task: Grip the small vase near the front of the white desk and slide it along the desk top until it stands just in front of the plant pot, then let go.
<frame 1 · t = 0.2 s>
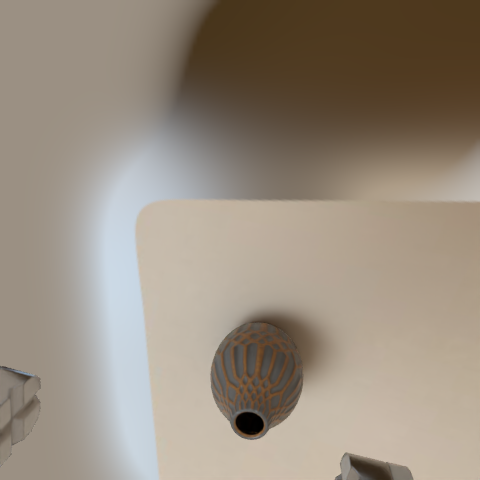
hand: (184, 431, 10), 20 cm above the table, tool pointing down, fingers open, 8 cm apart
vase: (260, 345, 32), on the table
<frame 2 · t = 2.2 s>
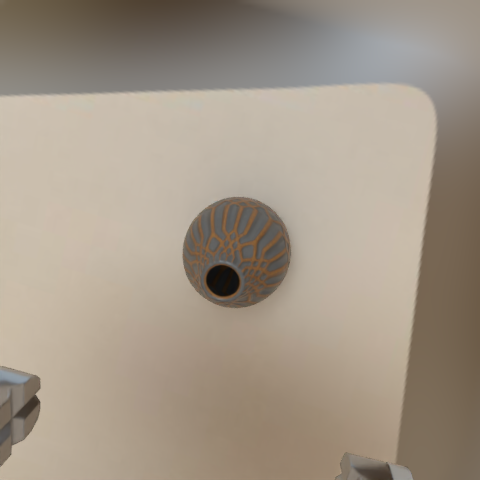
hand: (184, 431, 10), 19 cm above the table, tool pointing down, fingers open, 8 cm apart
vase: (244, 235, 28), on the table
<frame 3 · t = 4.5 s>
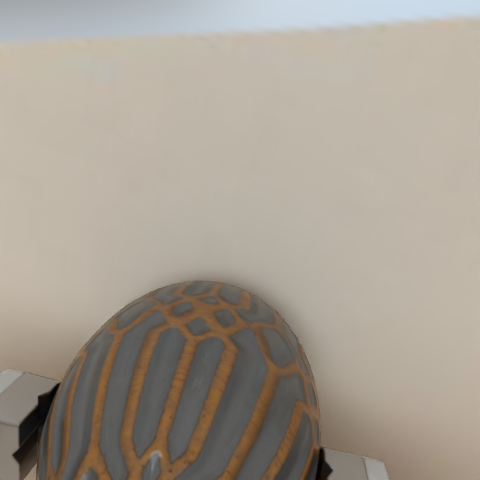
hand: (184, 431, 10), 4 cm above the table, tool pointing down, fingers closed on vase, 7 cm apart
vase: (217, 340, 14), on the table, touching gripper
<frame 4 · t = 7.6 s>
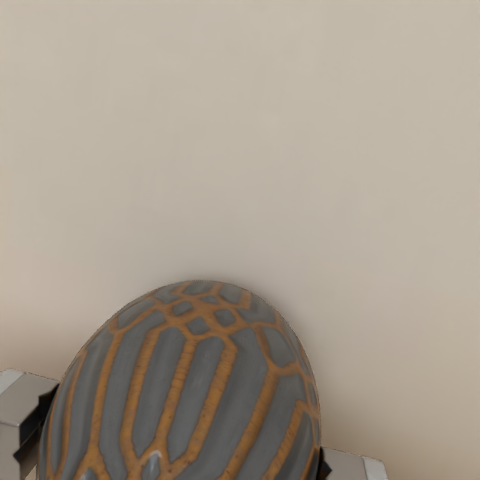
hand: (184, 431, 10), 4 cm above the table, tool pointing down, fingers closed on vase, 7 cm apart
vase: (218, 339, 14), on the table, touching gripper
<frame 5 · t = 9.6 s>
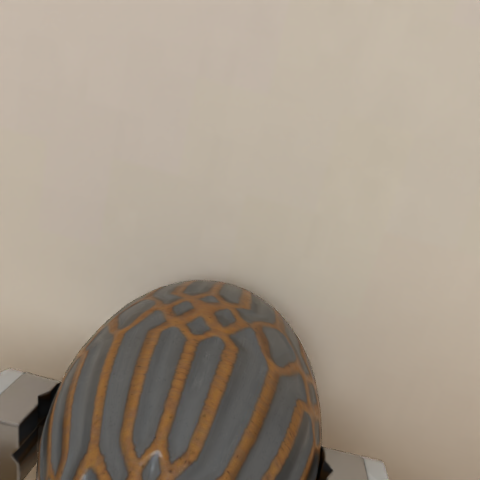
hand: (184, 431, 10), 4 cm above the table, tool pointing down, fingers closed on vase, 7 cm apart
vase: (218, 339, 14), on the table, touching gripper
when the fingers open (4 cm above the table, at t = 11.0 s): vase stays where it is, on the table.
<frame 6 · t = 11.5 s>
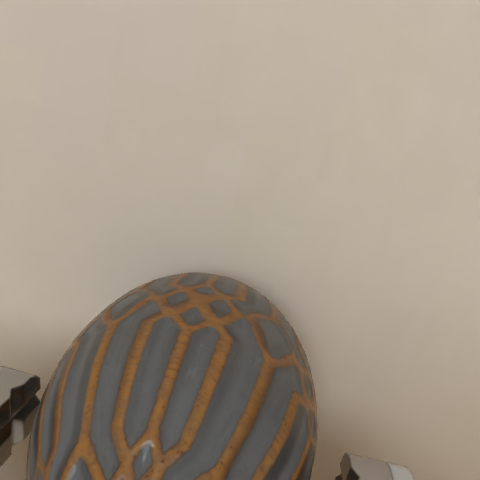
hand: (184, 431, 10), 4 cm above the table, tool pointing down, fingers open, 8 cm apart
vase: (214, 334, 14), on the table
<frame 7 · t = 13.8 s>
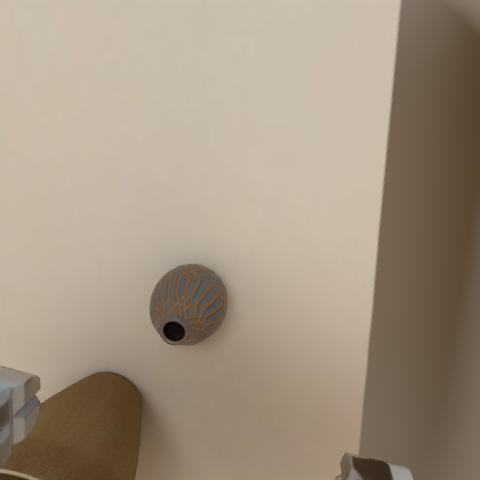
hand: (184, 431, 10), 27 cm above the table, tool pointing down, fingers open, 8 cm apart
plant pot: (111, 399, 43), on the table
vase: (198, 287, 38), on the table
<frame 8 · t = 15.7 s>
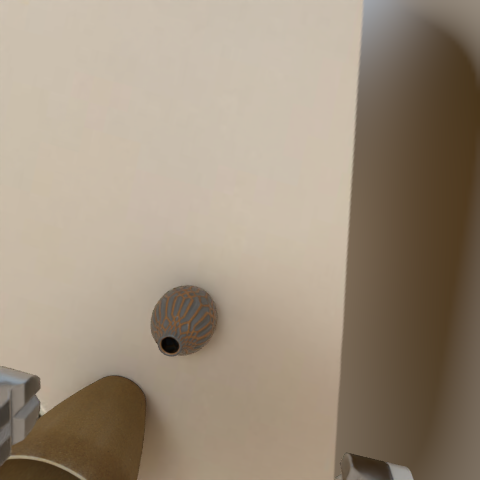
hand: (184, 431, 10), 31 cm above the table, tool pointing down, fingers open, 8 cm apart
plant pot: (119, 399, 50), on the table
vase: (193, 303, 44), on the table
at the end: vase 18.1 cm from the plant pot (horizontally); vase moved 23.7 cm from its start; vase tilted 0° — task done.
